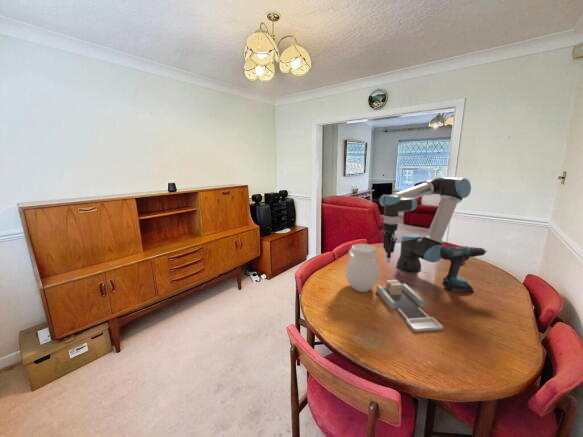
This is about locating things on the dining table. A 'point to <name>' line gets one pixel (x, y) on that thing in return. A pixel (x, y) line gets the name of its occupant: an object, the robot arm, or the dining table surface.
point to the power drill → (458, 266)
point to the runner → (407, 306)
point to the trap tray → (424, 324)
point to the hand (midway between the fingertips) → (387, 262)
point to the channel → (404, 287)
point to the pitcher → (362, 267)
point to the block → (393, 287)
